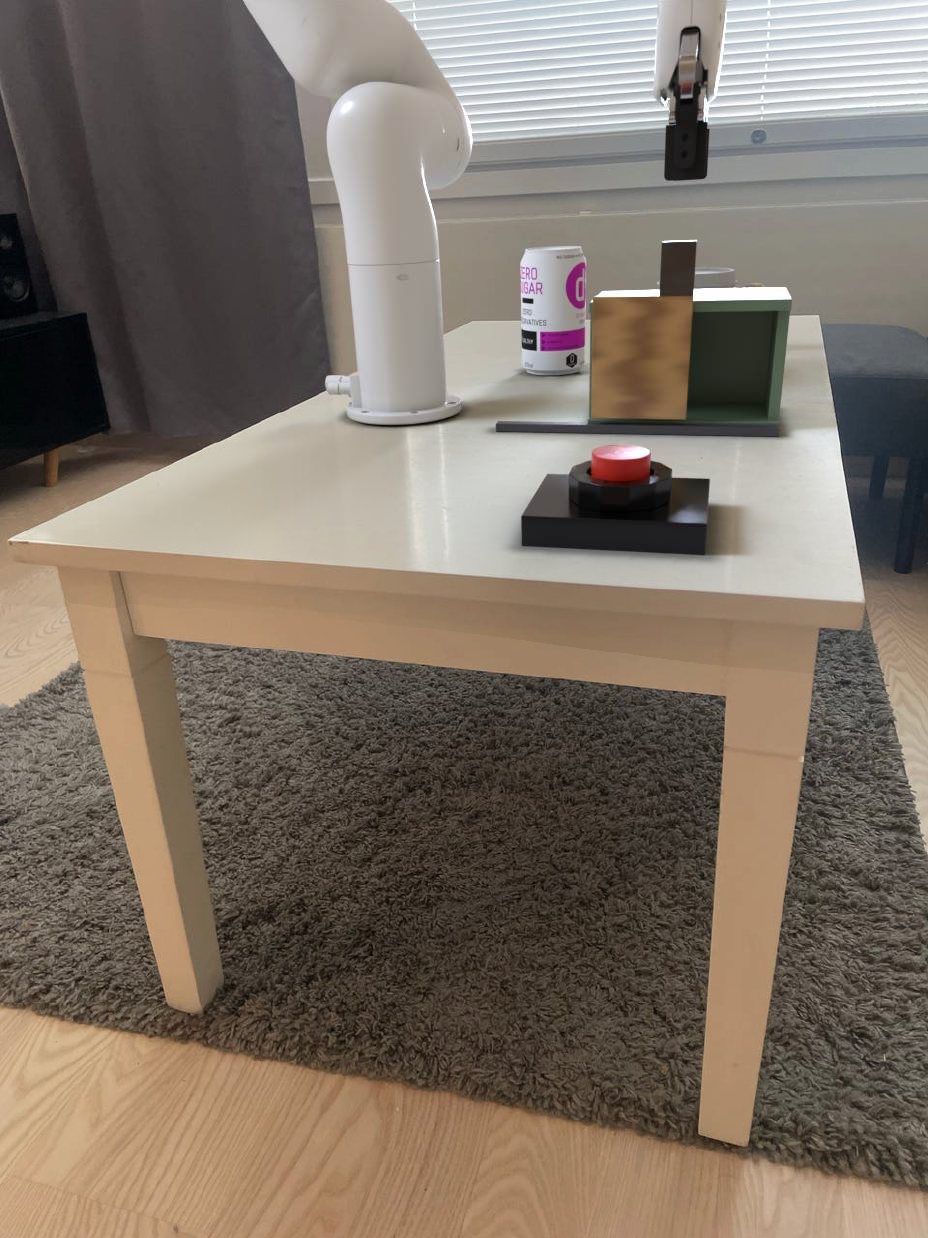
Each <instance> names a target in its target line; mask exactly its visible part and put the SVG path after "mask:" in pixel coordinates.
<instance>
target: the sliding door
mask: <svg viewBox="0 0 928 1238" xmlns="http://www.w3.org/2000/svg"><path fill="white" fill-rule="evenodd" d="M697 248H698V240H697V239H688V240H664V241H663V240H662V241H661V249H660V250H661V251H660V269H659V270H660V271H659V272H660V273H659V280H660V291H659V295H626V296H597V295H594V296H592V300H593V329H592V394H591V418H607V419H676V420H685V419H686V416H687V400H688V383H689V366H690V350H691V333H692V316H693V300H694V284H695V268H697V267H696V266H697V263H696V262H697V250H698V249H697Z"/></svg>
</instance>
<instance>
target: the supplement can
mask: <svg viewBox="0 0 928 1238" xmlns="http://www.w3.org/2000/svg"><path fill="white" fill-rule="evenodd" d="M519 265H520V267H519V268H520V271H519V272H520V319H521V320H520V324H521V326H520V329H521V331H520V332H521V366H522V368H524V369H525V370H526V372H527V373H528V374H530V375H531V374H532V375H536V376H537V375H538V376H563V375H571V374H576V373H578V372H580V371H581V369H582V368H583V367H584V366H585V364H586V315H587V314H586V311H587V305H586V304H587V303H586V301H587V258H586V257H585V254H584V252H583V250H582V246H578V245H577V246H576V245H556V246H539V247H529V248H525V249H524V254H523V256H522V258H521V260H520V262H519Z"/></svg>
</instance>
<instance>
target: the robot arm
mask: <svg viewBox="0 0 928 1238" xmlns="http://www.w3.org/2000/svg"><path fill="white" fill-rule="evenodd" d="M242 1H243V3H244V6H246V8H247V10H248V12H249V13H250V15H251V16H252V17H253V19H254V21H255V22H256V24H257V26H258V27H259V29H260V30H261V32H262V33H263V34H264V36H265V38H266V39H267V41H268V43H269V44H270V46H271V47H272V49H273V50H274V52H275V54H276V55H277V56H278V58H279V60H280V61H281V63H282V64H283V66H284V67H285V69H286V71H287V72H288V73H289V75H290V76H291V77H292V79H293V80H294V82H295V83H296V84H297V85H298V86H299V87H300V88H301V89H302V90H304V91H306V92H308V93H310V94H313V95H315V96H318V97H322V98H327V99H328V98H329V99H335V100H337V101H336V102H335V104H334V106H333V107H332V110H331V112H330V115H329V118H328V121H327V126H326V151H327V157H328V161H329V166H330V171H331V174H332V178H333V182H334V185H335V189H336V194H337V197H338V202H339V208H340V213H341V218H342V219H341V220H342V227H343V234H344V235H343V236H344V244H345V253H346V263H347V264H346V265H347V271H348V281H349V283H348V284H349V292H350V303H351V315H352V325H353V336H354V346H355V347H354V348H355V358H356V369H357V370H356V371H355V372H352V373H351V374H349V375H341V374H340V375H337V374H335V375H332V374H331V375H330V374H329V375H326V377H325V382H324V387H325V390H326V393H328V395H329V396H342V395H347V396H348V397H349V398H351V401H350V402H349V403H348V404H347V405H346V414H347V415H346V416H347V417H348V418H349V419H350V420H352V421H355V422H357V423H362V424H369V425H384V426H398V425H399V426H400V425H402V426H403V425H415V424H423V423H429V422H435V421H439V420H445V419H448V418H450V417H451V418H452V417H453V416H455V415H457V414H458V413H460V412H461V410H462V399H461V398H460V397H459V396H458V395H455V394H452V393H448V392H447V375H446V357H445V356H446V354H445V353H446V352H445V336H444V316H443V298H442V297H443V295H442V277H441V260H440V245H439V234H438V227H437V226H438V225H437V222H436V217H435V212H434V209H433V206H432V202H431V199H430V195H429V191H435V190H440V189H443V188H446V187H448V186H451V185H452V184H454V183H455V182H456V181H457V180H459V178H461V176H463V173H464V172H465V170H466V169H467V167H468V165H469V162H470V160H471V156H472V152H473V151H472V150H473V135H472V128H471V124H470V120H469V118H468V115H467V112H466V110H465V108H464V106H463V104H462V102H461V101H460V99H459V97H458V96H457V94H456V92H455V91H454V89H453V88H452V86H451V84H450V83H449V81H448V80H447V78H446V76H445V75H444V74H443V72H442V70H441V69H440V67H439V65H438V64H437V63H436V61H435V59H434V57H433V56H432V54H431V52H430V51H429V50H428V48H427V46H426V45H425V43H424V41H423V40H422V39H421V37H420V35H419V34H418V33H417V31H416V30H415V27H413V25H412V24H411V23H410V21H409V20H408V19H407V17H405V16H404V14H403V13H402V12H401V11H400V10H399V9H398V8H396V6H394V5H393V4H392V3H390V2H389V1H387V0H242ZM727 11H728V0H657V9H656V32H655V53H654V73H653V74H654V75H653V88H652V89H653V90H652V91H653V92H652V95H653V98H654V99H655V100H656V101H657V102H658V103H659V105H660V106H662V107H667V106H669V107H668V124H666V125H665V138H664V139H665V140H664V141H665V143H664V146H665V147H664V167H663V177H664V180H665V181H668V182H671V181H673V182H681V181H699V180H705V179H706V178H707V176H708V167H709V148H710V128H708V125H709V124H708V117H709V116H708V114H709V113H708V111H709V103H711V102H712V101H713V100H714V99H716V97H717V92H718V86H719V82H720V81H719V80H720V74H721V69H722V60H723V52H724V43H725V37H726V36H725V34H726V24H727ZM668 99H669V105H667V104H668Z"/></svg>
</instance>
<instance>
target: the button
mask: <svg viewBox="0 0 928 1238" xmlns="http://www.w3.org/2000/svg"><path fill="white" fill-rule="evenodd" d="M590 457H591V459H590V460H591V477H593V478H598V479H603V480H607V481H631V480H639V479H645V478H647V477H650V463H651V461H652V459H651V458H652V452H651V450H650V449H649V448H648V447H647V448H646V447H644V446H640V445H635V444H634V445H633V444H608V445H602V446H599V447H596V448H594V449H593V450H591V454H590Z"/></svg>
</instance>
